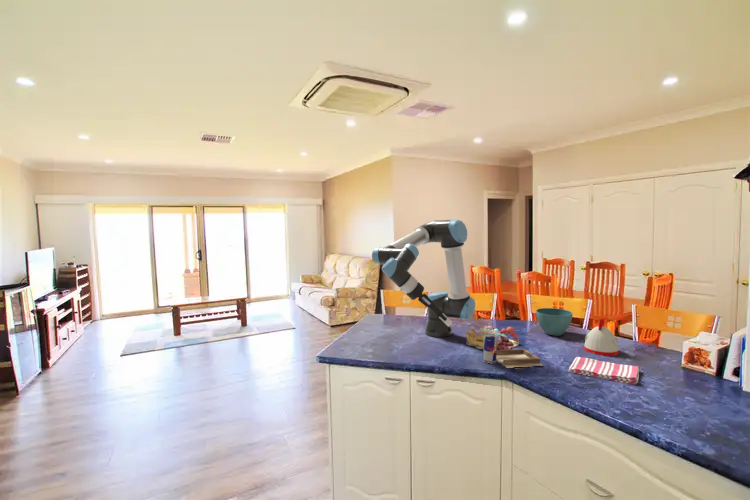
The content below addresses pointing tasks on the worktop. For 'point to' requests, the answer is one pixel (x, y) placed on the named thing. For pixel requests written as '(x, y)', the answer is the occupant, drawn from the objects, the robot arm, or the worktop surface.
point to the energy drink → (490, 348)
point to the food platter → (501, 339)
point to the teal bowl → (554, 320)
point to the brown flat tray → (517, 358)
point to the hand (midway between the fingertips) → (450, 324)
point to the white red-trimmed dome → (601, 341)
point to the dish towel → (605, 370)
